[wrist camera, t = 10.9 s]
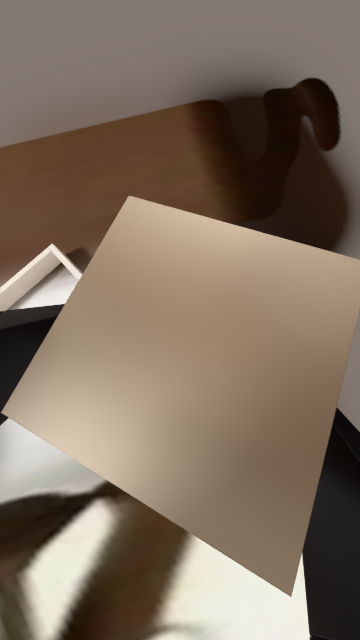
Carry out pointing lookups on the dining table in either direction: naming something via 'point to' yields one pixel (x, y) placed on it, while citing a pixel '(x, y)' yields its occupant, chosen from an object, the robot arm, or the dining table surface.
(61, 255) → the tray
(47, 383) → the birch block
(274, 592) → the dining table surface
